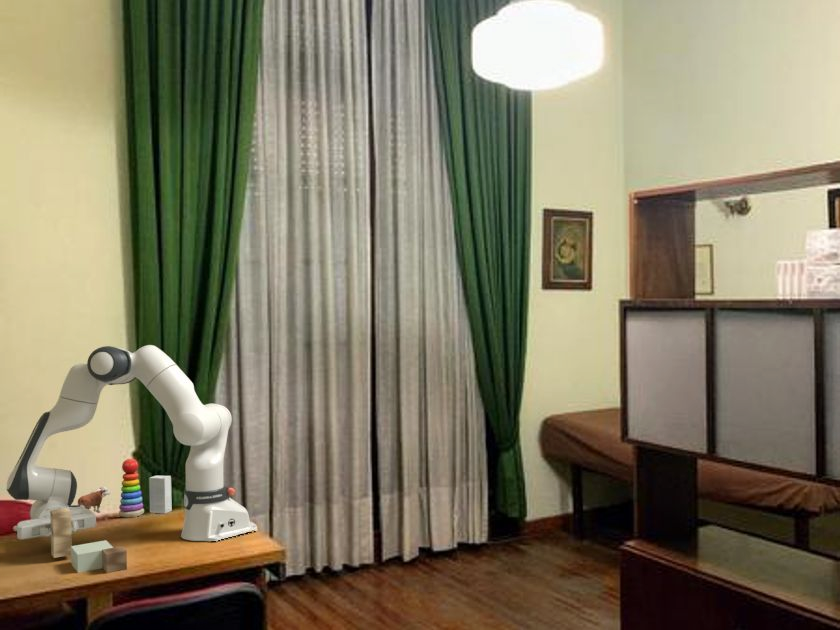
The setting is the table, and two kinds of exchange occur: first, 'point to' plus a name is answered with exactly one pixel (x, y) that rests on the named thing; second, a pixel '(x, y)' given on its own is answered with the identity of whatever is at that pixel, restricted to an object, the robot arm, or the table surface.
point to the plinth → (88, 556)
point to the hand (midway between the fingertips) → (61, 531)
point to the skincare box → (160, 494)
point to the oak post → (61, 532)
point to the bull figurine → (93, 499)
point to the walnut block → (114, 559)
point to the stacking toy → (130, 491)
